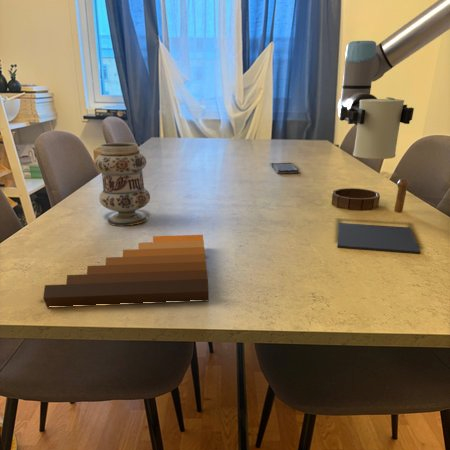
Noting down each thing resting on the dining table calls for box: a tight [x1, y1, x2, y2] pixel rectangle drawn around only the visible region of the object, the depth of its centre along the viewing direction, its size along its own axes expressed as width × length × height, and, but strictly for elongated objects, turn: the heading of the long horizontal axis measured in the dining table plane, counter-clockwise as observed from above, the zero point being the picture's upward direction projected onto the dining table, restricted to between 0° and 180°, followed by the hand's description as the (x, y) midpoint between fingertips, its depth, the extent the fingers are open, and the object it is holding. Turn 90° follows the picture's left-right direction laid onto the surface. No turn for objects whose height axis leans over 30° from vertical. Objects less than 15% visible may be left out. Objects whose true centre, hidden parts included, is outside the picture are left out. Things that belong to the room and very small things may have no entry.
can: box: [352, 96, 405, 160], centre depth 95 cm, size 9×9×12 cm
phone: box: [271, 162, 299, 175], centre depth 163 cm, size 8×1×15 cm
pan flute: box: [42, 234, 210, 308], centre depth 77 cm, size 25×3×25 cm
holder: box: [331, 178, 410, 213], centre depth 117 cm, size 19×13×8 cm
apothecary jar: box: [94, 142, 151, 226], centre depth 103 cm, size 12×12×18 cm
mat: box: [336, 222, 421, 255], centre depth 94 cm, size 16×16×1 cm
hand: (385, 117), depth 90 cm, fingers closed on can, 9 cm apart
